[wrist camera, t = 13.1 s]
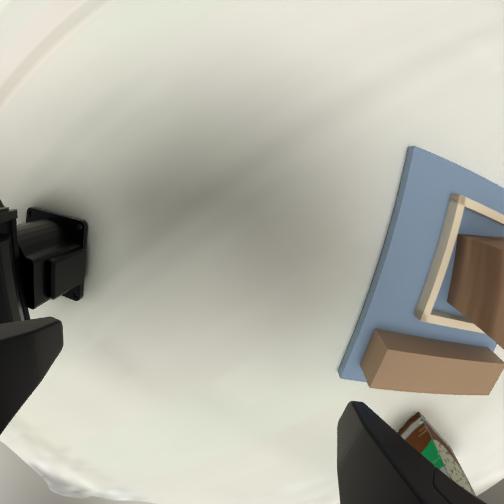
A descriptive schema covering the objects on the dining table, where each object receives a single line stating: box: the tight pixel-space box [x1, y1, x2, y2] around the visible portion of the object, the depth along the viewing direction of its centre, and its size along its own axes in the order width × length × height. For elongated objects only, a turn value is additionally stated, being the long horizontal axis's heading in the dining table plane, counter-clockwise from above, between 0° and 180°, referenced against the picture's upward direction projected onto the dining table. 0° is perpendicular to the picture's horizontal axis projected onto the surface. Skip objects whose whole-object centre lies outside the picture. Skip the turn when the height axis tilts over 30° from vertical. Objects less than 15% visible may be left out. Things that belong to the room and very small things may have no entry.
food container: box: [398, 412, 476, 496], centre depth 19 cm, size 12×6×10 cm, turn 44°
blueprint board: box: [338, 146, 504, 395], centre depth 18 cm, size 14×17×4 cm
